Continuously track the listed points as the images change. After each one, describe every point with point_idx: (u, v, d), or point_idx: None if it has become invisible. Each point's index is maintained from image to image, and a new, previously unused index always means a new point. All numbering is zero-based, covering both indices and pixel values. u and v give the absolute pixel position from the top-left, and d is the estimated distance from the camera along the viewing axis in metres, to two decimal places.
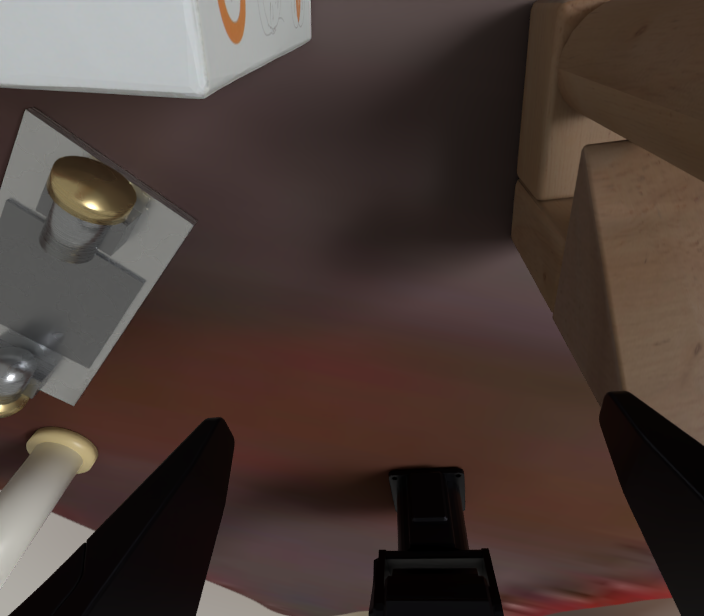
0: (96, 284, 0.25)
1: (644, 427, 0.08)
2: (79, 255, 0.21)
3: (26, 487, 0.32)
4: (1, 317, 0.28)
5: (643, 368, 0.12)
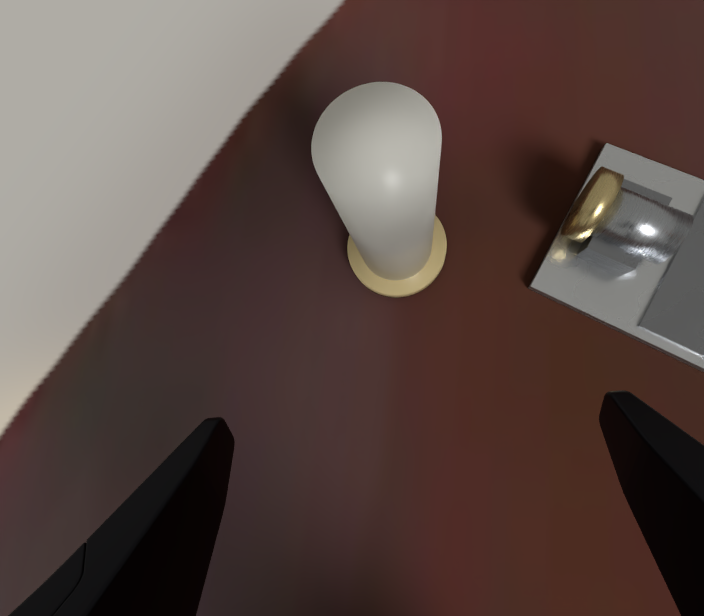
0: None
1: (644, 427, 0.08)
2: None
3: (433, 226, 0.19)
4: None
5: None
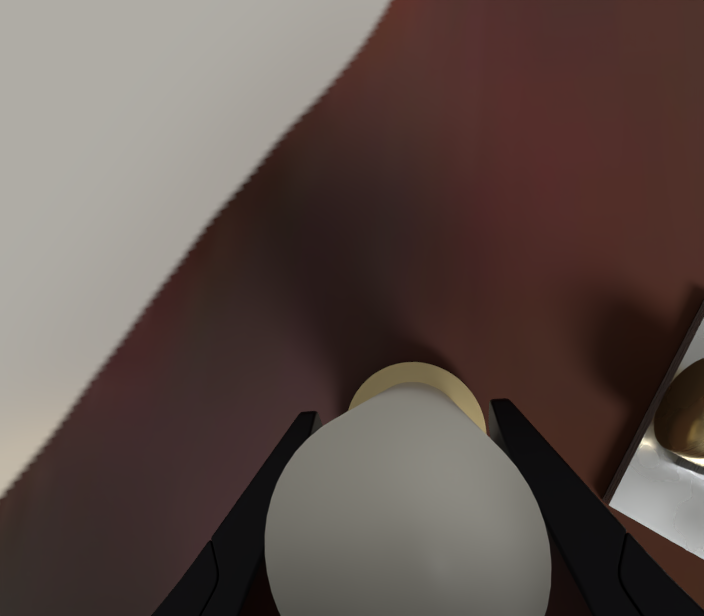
0: None
1: (510, 434, 0.08)
2: None
3: None
4: None
5: None
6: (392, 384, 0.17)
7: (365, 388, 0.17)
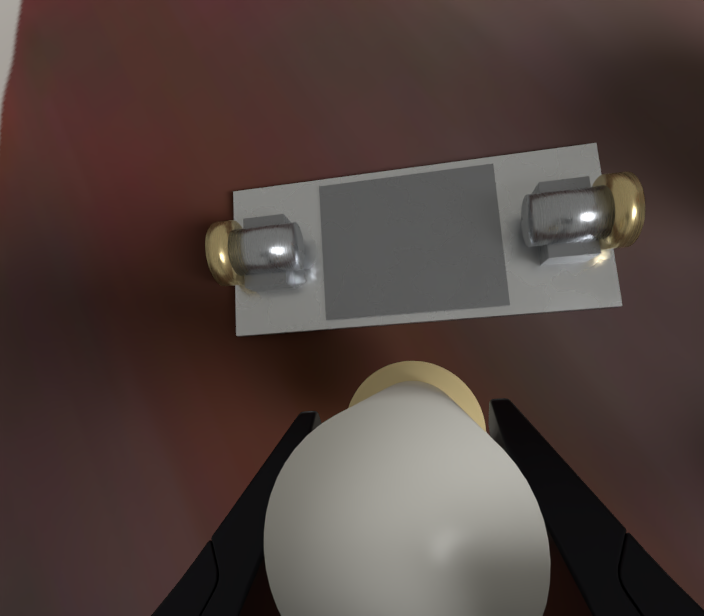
0: (464, 267, 0.22)
1: (510, 434, 0.08)
2: (549, 231, 0.20)
3: None
4: (332, 214, 0.24)
5: None
6: (392, 383, 0.17)
7: (365, 387, 0.17)
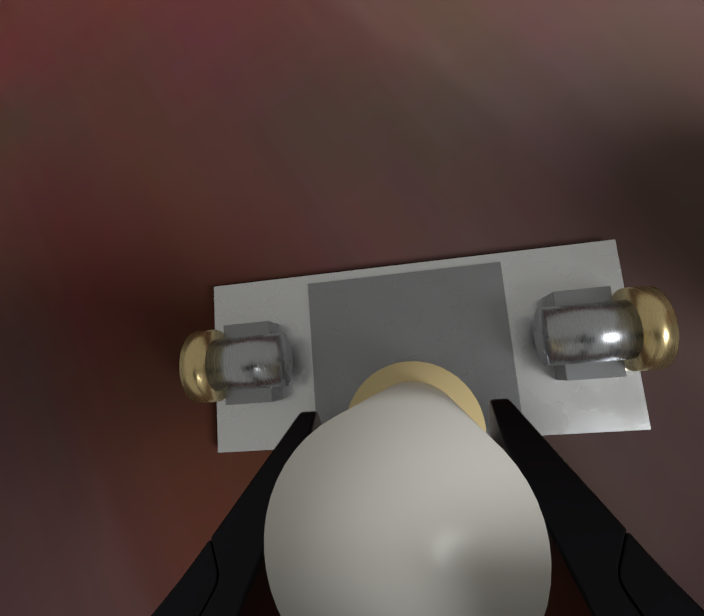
0: (471, 381, 0.20)
1: (510, 434, 0.08)
2: (567, 355, 0.17)
3: None
4: (322, 315, 0.22)
5: None
6: (392, 383, 0.17)
7: (365, 388, 0.17)
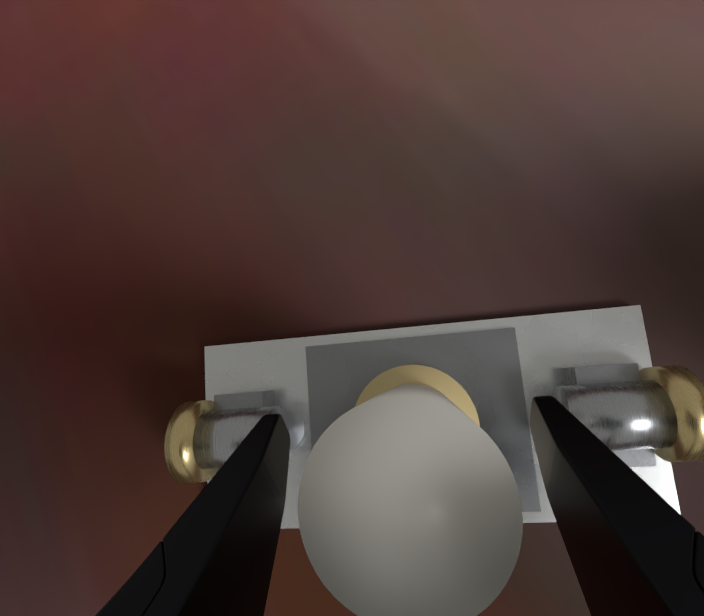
0: None
1: (559, 431, 0.08)
2: None
3: None
4: (321, 382, 0.20)
5: None
6: (394, 385, 0.19)
7: (369, 389, 0.19)
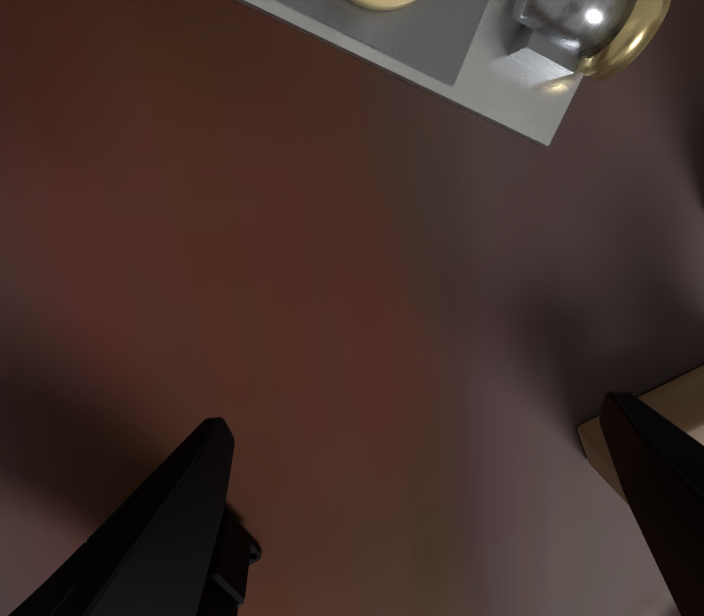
0: (432, 7, 0.17)
1: (644, 427, 0.08)
2: (550, 7, 0.15)
3: None
4: None
5: None
6: None
7: None
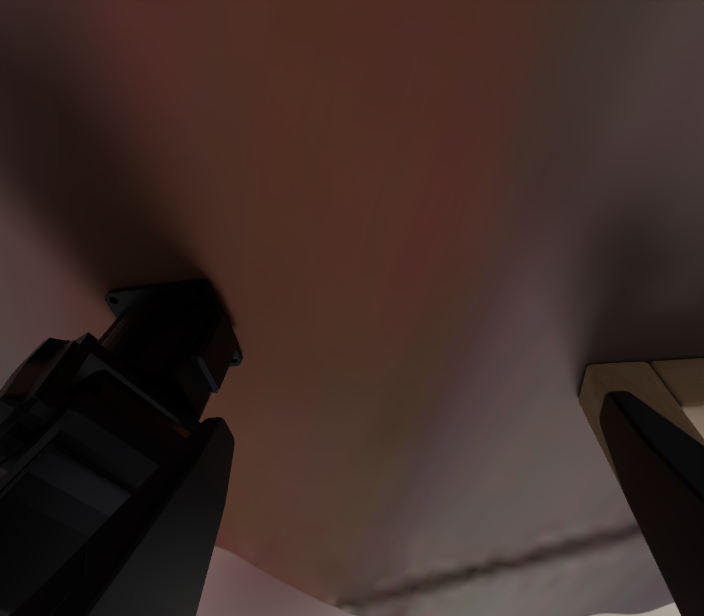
0: None
1: (644, 427, 0.08)
2: None
3: None
4: None
5: None
6: None
7: None
